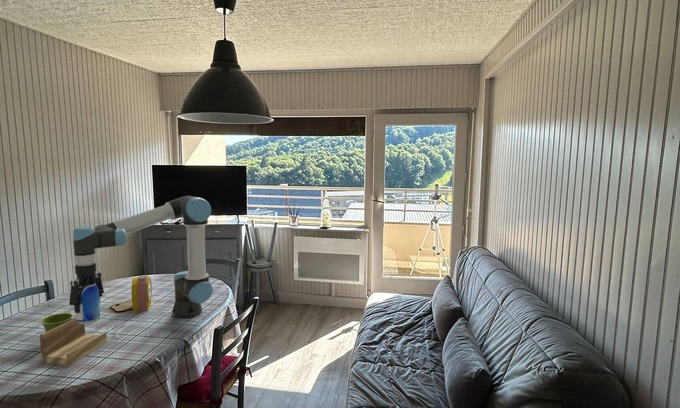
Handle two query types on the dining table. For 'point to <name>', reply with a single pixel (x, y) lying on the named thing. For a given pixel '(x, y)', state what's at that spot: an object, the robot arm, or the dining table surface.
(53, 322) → the plant pot
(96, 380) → the dining table surface
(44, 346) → the cleat board
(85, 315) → the beer can
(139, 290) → the alarm clock
